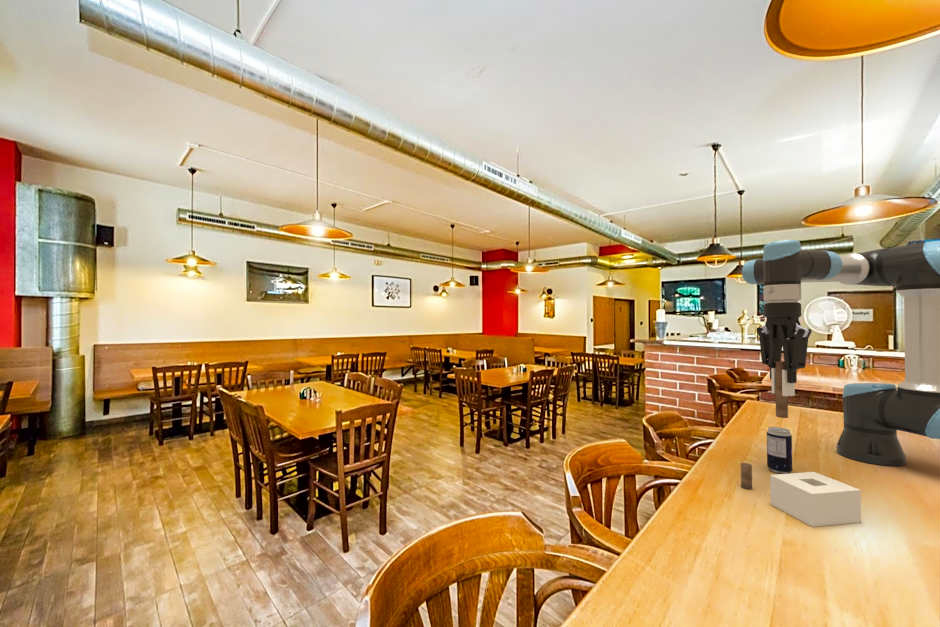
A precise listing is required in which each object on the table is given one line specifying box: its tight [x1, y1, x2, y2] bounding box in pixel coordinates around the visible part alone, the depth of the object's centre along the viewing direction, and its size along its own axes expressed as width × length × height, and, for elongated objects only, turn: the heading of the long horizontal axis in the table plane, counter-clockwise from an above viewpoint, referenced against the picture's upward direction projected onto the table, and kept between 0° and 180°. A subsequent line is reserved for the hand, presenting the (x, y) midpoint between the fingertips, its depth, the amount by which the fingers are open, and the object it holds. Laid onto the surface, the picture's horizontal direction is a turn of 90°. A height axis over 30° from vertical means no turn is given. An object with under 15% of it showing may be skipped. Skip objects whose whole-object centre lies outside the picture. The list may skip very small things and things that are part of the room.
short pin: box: [740, 462, 753, 490], centre depth 102 cm, size 2×2×6 cm
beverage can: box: [766, 426, 793, 474], centre depth 112 cm, size 6×6×12 cm
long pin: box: [775, 360, 789, 419], centre depth 99 cm, size 2×2×14 cm
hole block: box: [769, 471, 862, 528], centre depth 89 cm, size 12×10×7 cm
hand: (782, 394), depth 99 cm, fingers closed on long pin, 2 cm apart
